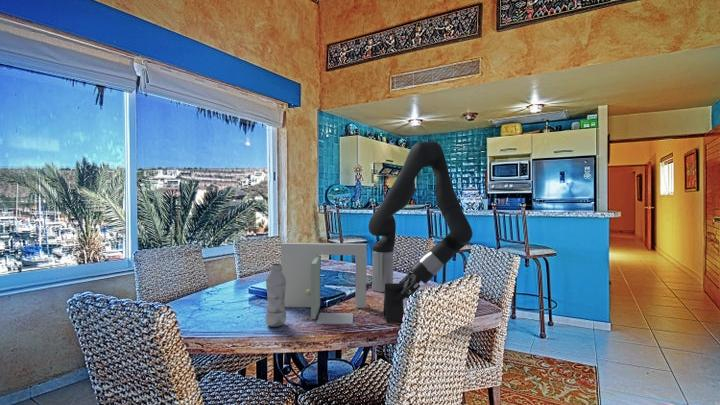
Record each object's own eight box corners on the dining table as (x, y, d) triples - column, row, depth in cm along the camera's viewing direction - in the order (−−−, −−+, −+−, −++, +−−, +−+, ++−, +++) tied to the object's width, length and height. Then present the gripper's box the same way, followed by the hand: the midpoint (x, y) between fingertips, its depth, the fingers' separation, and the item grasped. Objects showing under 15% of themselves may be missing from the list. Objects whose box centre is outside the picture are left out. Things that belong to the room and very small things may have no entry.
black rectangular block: (403, 322, 129) (404, 287, 128) (386, 322, 128) (386, 287, 128) (399, 313, 138) (400, 280, 137) (383, 313, 137) (383, 280, 137)
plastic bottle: (267, 322, 127) (266, 262, 126) (287, 321, 128) (287, 262, 127) (263, 329, 121) (263, 267, 120) (285, 329, 121) (285, 266, 121)
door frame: (282, 305, 145) (282, 242, 144) (365, 306, 145) (366, 243, 144) (269, 323, 126) (269, 251, 125) (366, 324, 126) (366, 252, 125)
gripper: (416, 255, 139) (385, 286, 140) (423, 263, 125) (387, 297, 125) (431, 270, 139) (399, 300, 140) (438, 279, 125) (403, 313, 126)
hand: (393, 299), depth 133 cm, fingers open, 8 cm apart
